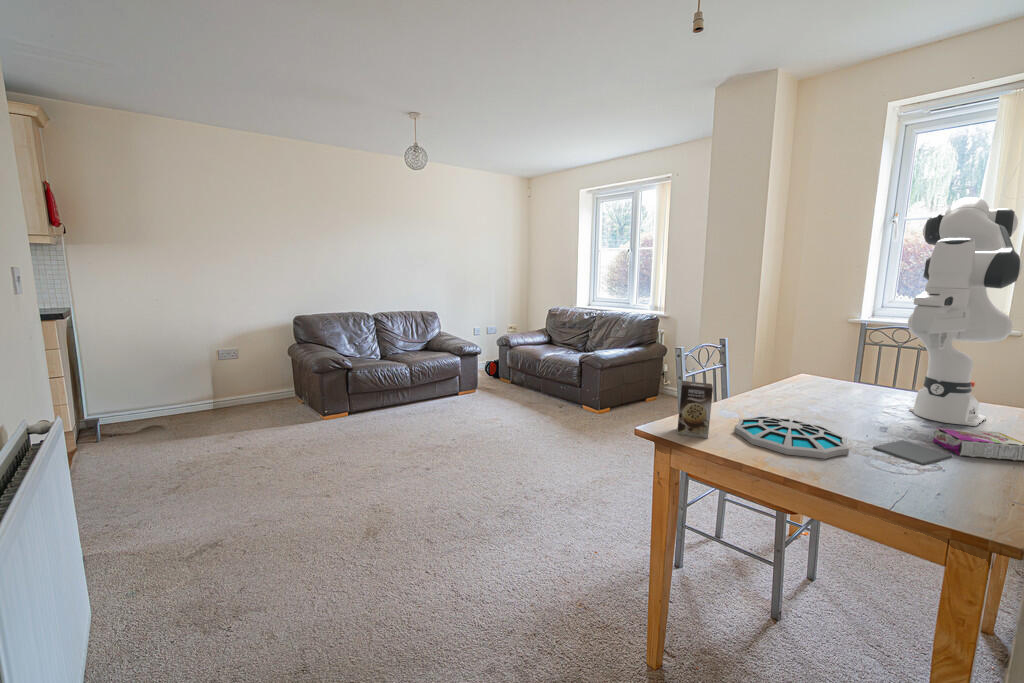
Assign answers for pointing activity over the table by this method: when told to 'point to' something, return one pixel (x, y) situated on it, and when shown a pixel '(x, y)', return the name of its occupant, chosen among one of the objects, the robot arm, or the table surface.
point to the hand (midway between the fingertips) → (937, 348)
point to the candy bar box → (980, 444)
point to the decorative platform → (792, 437)
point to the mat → (912, 452)
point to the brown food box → (695, 409)
